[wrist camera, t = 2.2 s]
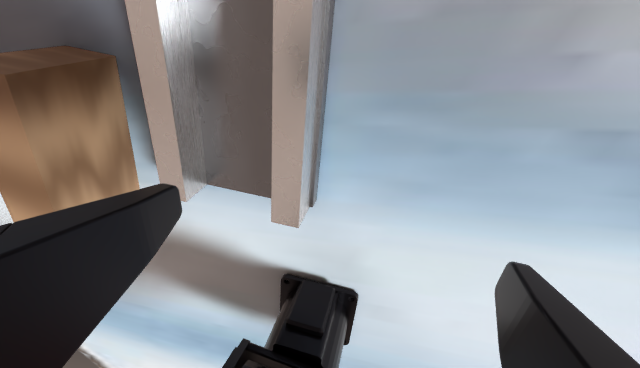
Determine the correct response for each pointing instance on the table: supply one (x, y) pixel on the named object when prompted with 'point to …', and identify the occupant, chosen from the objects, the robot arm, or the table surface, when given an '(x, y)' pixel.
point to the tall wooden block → (62, 130)
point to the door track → (236, 95)
